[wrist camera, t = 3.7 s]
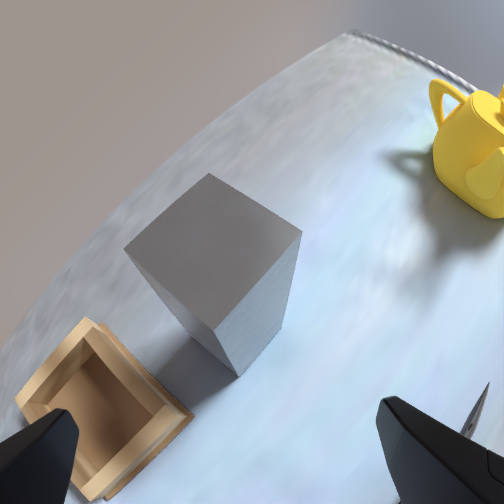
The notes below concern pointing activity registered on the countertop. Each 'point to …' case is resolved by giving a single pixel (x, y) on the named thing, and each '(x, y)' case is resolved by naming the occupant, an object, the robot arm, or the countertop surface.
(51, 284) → the countertop surface
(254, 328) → the post
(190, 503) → the countertop surface
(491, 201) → the teapot
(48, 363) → the dock
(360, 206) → the countertop surface
